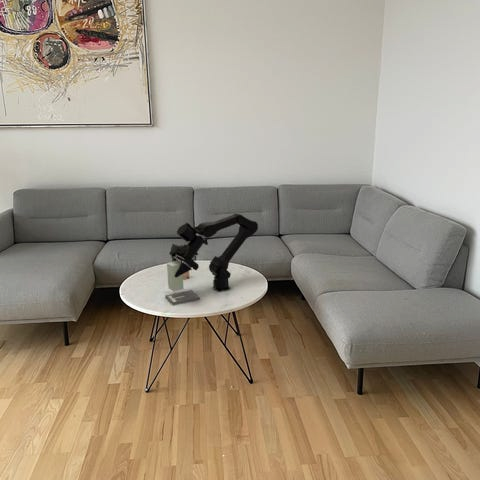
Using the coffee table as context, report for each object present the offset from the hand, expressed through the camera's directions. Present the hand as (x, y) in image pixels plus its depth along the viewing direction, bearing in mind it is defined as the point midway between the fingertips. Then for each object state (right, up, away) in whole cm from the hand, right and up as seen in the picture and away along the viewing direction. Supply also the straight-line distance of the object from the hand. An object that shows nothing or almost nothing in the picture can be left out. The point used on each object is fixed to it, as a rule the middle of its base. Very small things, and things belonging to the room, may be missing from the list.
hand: (172, 275), depth 199 cm
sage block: (+1, -6, +3) cm, 7 cm away
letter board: (+4, -11, +6) cm, 13 cm away
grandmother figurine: (+2, -4, +31) cm, 32 cm away
